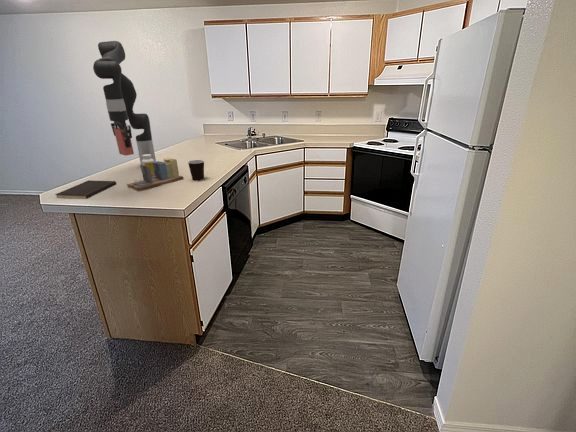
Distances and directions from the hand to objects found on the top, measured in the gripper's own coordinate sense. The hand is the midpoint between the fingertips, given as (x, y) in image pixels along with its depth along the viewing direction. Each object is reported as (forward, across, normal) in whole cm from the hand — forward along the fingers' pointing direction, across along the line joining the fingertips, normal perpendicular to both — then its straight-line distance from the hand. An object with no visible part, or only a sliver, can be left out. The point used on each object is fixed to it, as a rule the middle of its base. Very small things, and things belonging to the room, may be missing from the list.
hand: (125, 146), depth 148 cm
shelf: (+23, -3, +14) cm, 27 cm away
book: (+4, 0, 0) cm, 4 cm away
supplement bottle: (+23, -17, +19) cm, 34 cm away
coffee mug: (+23, +9, +33) cm, 42 cm away
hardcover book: (+23, -20, -14) cm, 34 cm away
